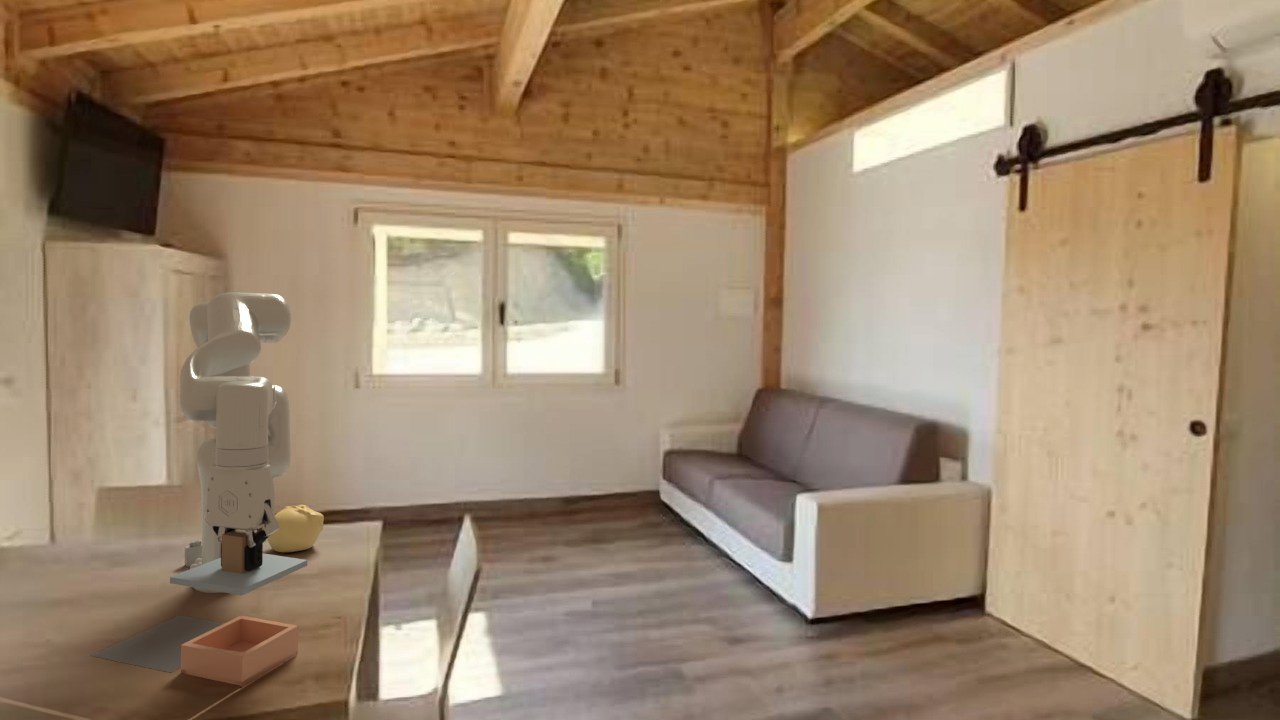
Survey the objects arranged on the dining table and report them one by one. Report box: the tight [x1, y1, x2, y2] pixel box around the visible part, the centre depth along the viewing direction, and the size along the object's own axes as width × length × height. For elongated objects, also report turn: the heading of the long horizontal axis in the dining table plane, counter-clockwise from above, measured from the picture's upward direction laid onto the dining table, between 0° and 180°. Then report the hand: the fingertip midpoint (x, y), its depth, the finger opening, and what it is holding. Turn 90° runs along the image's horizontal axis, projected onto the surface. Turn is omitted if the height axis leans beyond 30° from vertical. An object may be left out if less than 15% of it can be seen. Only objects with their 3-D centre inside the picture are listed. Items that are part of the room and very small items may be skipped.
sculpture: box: [266, 504, 325, 553], centre depth 176 cm, size 12×12×11 cm
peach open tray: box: [180, 615, 299, 689], centre depth 119 cm, size 12×12×5 cm
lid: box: [169, 529, 308, 596], centre depth 118 cm, size 14×14×7 cm
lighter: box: [184, 539, 202, 568], centre depth 164 cm, size 7×2×8 cm, turn 141°
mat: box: [90, 614, 225, 674], centre depth 125 cm, size 17×17×1 cm
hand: (241, 565), depth 118 cm, fingers closed on lid, 4 cm apart
